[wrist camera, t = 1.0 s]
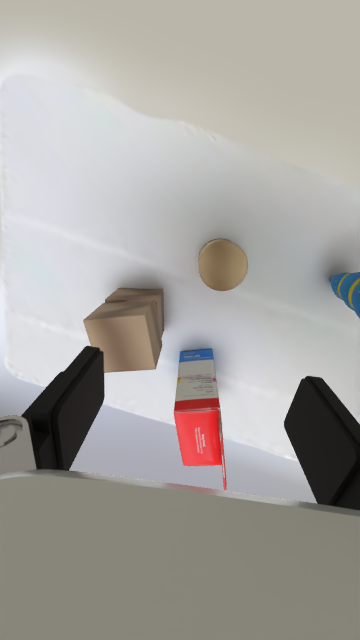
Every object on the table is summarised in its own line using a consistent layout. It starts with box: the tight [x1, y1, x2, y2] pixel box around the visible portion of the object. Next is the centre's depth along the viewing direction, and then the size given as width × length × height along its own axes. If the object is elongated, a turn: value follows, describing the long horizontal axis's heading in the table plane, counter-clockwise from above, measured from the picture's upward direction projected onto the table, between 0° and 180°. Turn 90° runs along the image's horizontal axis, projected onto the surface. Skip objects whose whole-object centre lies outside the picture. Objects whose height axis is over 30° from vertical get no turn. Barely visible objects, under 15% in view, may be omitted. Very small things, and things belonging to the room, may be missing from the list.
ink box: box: [174, 349, 226, 491], centre depth 28 cm, size 8×5×15 cm, turn 8°
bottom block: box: [105, 288, 164, 338], centre depth 29 cm, size 6×6×5 cm
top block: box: [83, 298, 162, 373], centre depth 25 cm, size 6×6×5 cm
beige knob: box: [199, 239, 248, 291], centre depth 26 cm, size 5×5×5 cm
